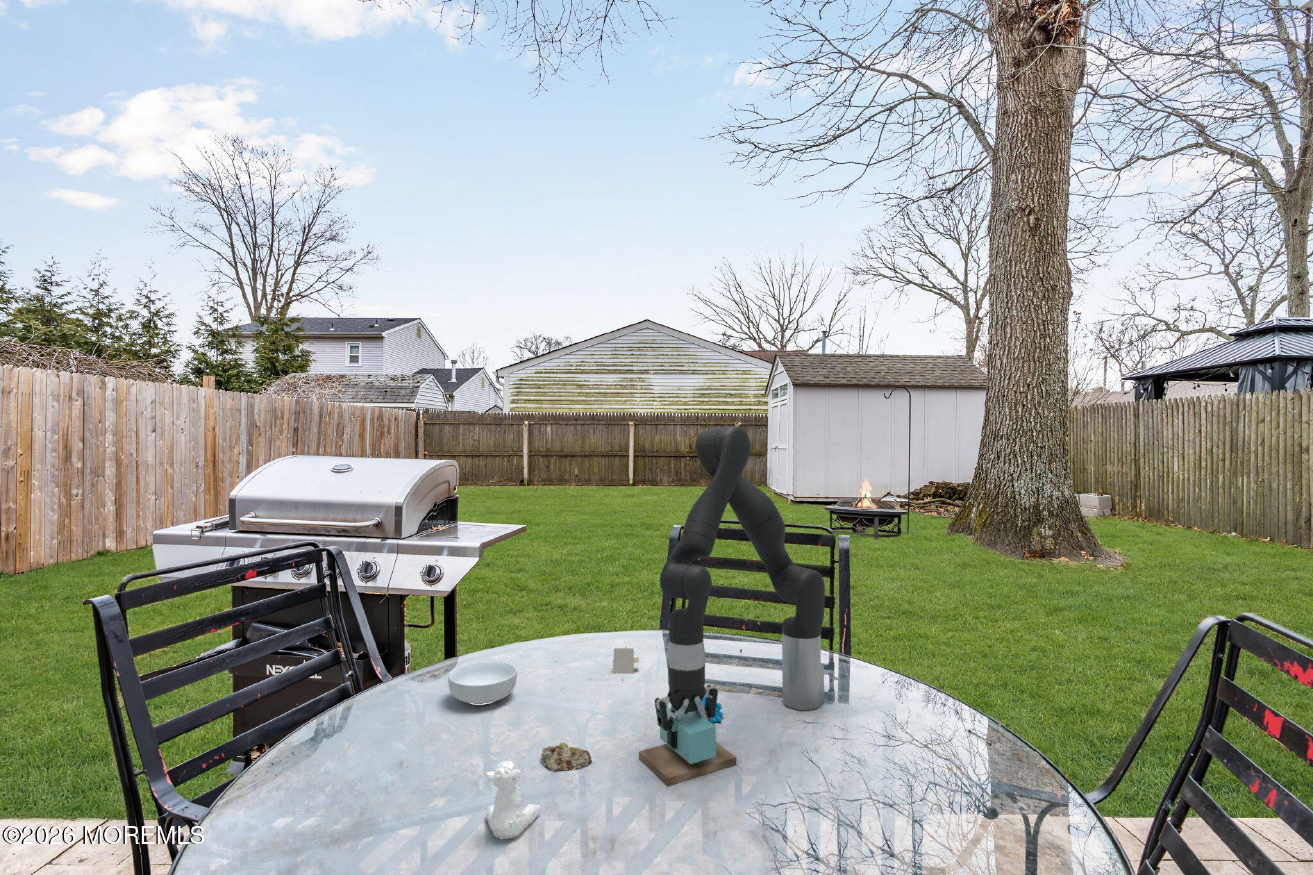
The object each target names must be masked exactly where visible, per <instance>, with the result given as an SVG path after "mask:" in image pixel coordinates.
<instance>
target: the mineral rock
mask: <svg viewBox="0 0 1313 875" xmlns="http://www.w3.org/2000/svg"><path fill="white" fill-rule="evenodd" d="M540 760H541V765H542V767H543V766H544V768H546V769H549V771H552V772H554V771H562V772H563V771H564V772H565V770H566V771H570V770H571V769H574V768H575V769H574V770H580V769H582V768H583V767H587V766H589V764H588V763H590V764H591V763H592V762H593V760H592V756H591V753H590V751H589V750H587V749H582V748H580V747H573V746H568V744H567V743H565V742H560V743H559V744H557V745H554V746H549V745H548V746H547V747H542V750H541V755H540ZM582 766H583V767H582ZM579 768H580V769H579Z"/></svg>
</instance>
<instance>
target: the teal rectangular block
mask: <svg viewBox="0 0 1313 875" xmlns="http://www.w3.org/2000/svg"><path fill="white" fill-rule="evenodd" d="M669 709H670V707H668V709H667V716H669V714H668V712H669ZM677 713H678V712H677V711H676V714H677ZM676 731H677V749H673V748H672V749H673V750H674V751H675V752H677V753H678V754H679V755H680V756H681V757H683V758H684V759H685V760H686V761H687V762H688V763H690V764H692V763H696V762H699V761H702V760H706V759H709V758H712V757H716V742H717V726H716V725H715V724H714V723H712V722H710V720H706V719H705V718H703V717H700V716H699V714H698V713H697V714H696V713H695V712H688V713H687V714H684V715H683V718H682V720H681V721H680V722H679V723H678V724H677V730H676ZM659 736H660V737H659V738H660V740H661V741H662V742H663V743H664V744H667V745H668V743H667V731H665V730H663V728H661V727H660V726H659ZM668 746H670V745H668Z"/></svg>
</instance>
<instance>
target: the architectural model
mask: <svg viewBox="0 0 1313 875" xmlns="http://www.w3.org/2000/svg"><path fill="white" fill-rule="evenodd" d="M639 662H640V657H635V654H634V647H633V648H632V647H631V648H630V647H628V646H625V647H613V660H612V664H613V667H612V668H613V669H612V670H613V671H612V672H613V674H627V675H628V674H635V668H634V667H635V664H637V663H639Z"/></svg>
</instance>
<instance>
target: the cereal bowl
mask: <svg viewBox="0 0 1313 875" xmlns="http://www.w3.org/2000/svg"><path fill="white" fill-rule="evenodd" d="M517 678H518V670H517V667H516V666H515V665H514V664H512V663H509V662H506V661H498V660H484V661H483V660H482V661H474V662H470V663H465V664H462V665H460V666H458V667H455V668H454V669H452V670H451V671H450V672H449V674H448V688H449V691H450V693H451V695H452V696H453V697H454V698H455V699H457V700H459V701H460V702H462V701H463V703H466V702H467V704H468V703H474V704H483V703H489V702H494V701H496V702H497V700H498V701H499V700H501V699H502V700H503V699H504V698H506V697H507V696H508V695H510V694H511V692H512V691H514V689H515V688H516V683H517Z"/></svg>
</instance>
